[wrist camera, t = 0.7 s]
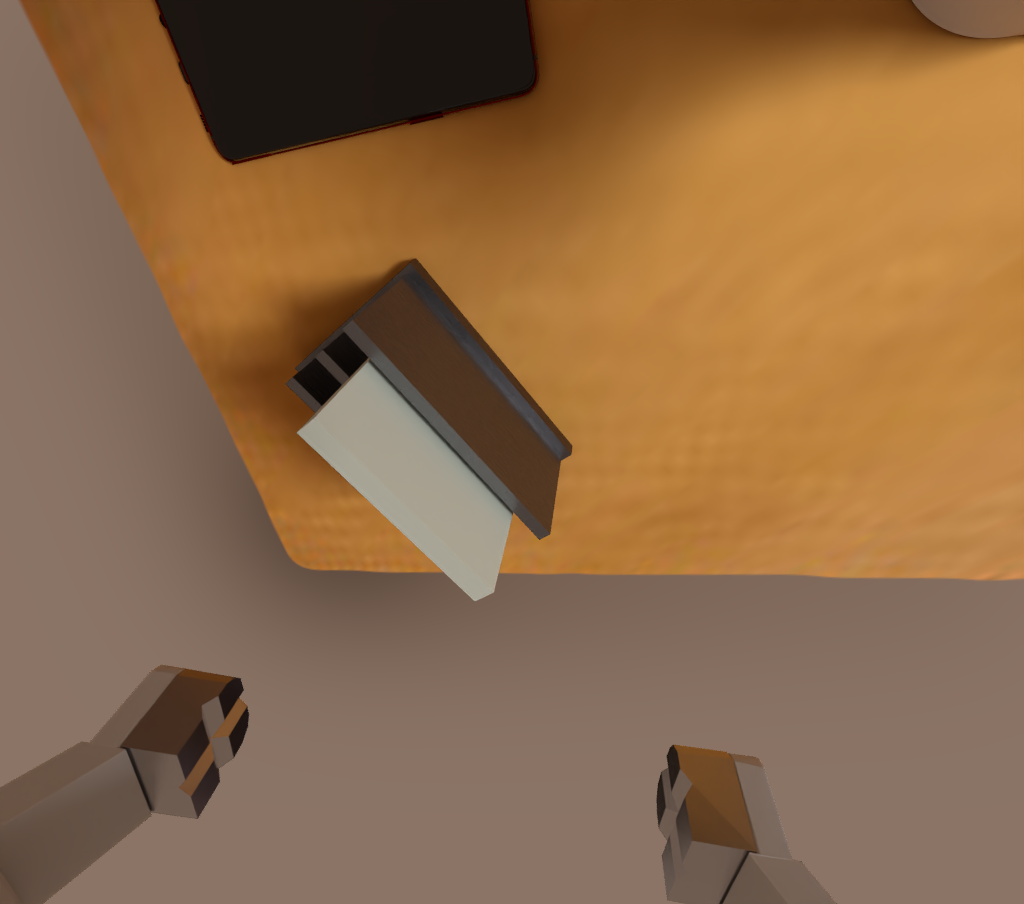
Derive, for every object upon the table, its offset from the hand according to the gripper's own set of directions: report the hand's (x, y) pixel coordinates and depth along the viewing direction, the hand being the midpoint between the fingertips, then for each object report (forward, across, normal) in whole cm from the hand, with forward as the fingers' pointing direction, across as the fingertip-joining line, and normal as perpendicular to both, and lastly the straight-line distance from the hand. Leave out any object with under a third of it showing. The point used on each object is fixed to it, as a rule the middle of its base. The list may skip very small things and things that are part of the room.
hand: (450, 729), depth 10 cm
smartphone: (+38, +16, -16) cm, 44 cm away
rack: (+39, +9, +11) cm, 42 cm away
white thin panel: (+37, +6, +8) cm, 38 cm away
